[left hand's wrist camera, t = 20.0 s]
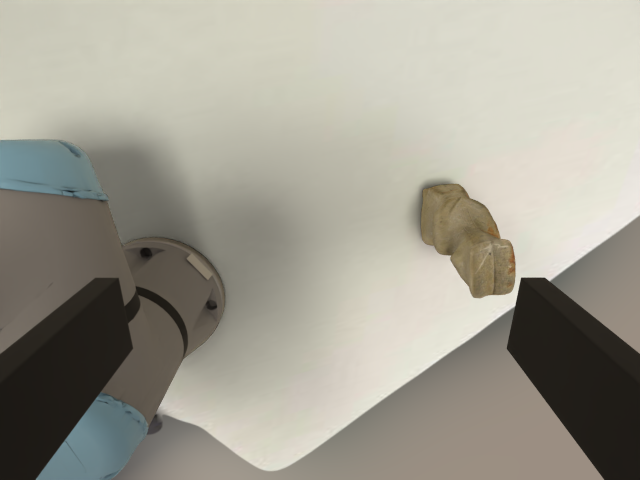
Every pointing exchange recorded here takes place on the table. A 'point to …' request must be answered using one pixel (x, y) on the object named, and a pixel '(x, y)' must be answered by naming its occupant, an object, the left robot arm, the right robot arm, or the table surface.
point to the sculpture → (468, 239)
